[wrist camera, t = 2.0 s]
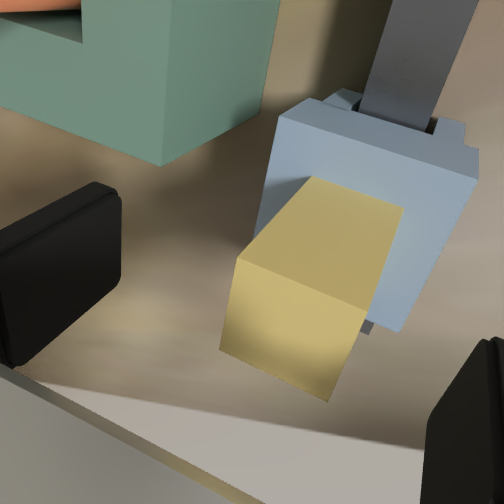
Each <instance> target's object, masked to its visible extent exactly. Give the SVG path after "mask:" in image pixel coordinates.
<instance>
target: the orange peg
mask: <svg viewBox="0 0 504 504" xmlns="http://www.w3.org/2000/svg"><path fill="white" fill-rule="evenodd" d="M72 9H81V0H0V12H24V11H48V10H72Z"/></svg>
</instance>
